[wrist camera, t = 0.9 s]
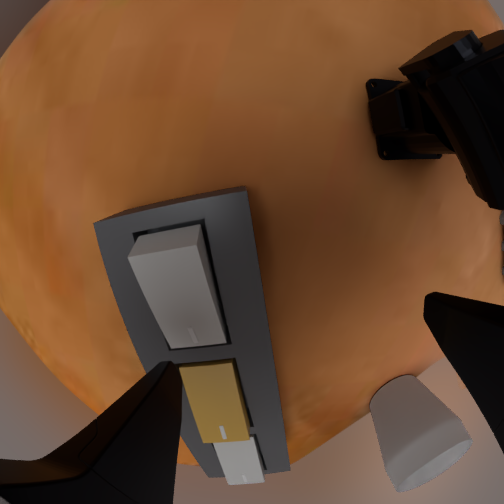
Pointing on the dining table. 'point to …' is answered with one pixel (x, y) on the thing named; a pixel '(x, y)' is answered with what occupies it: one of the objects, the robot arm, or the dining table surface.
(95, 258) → the dining table surface
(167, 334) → the rocker
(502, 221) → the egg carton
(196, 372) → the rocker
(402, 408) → the cup
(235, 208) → the rocker switch panel
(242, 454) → the rocker
